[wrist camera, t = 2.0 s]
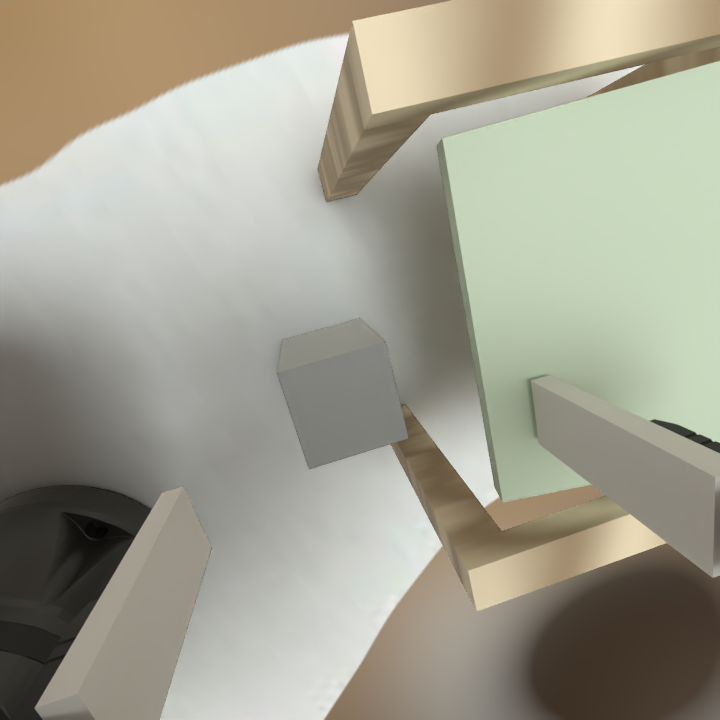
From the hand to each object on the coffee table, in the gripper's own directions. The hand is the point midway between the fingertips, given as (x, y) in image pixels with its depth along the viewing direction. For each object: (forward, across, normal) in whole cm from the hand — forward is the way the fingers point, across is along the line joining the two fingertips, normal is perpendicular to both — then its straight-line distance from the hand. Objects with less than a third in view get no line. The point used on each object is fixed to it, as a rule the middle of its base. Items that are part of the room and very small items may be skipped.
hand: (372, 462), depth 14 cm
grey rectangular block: (+10, 0, 0) cm, 10 cm away
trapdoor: (+3, +12, +3) cm, 13 cm away
